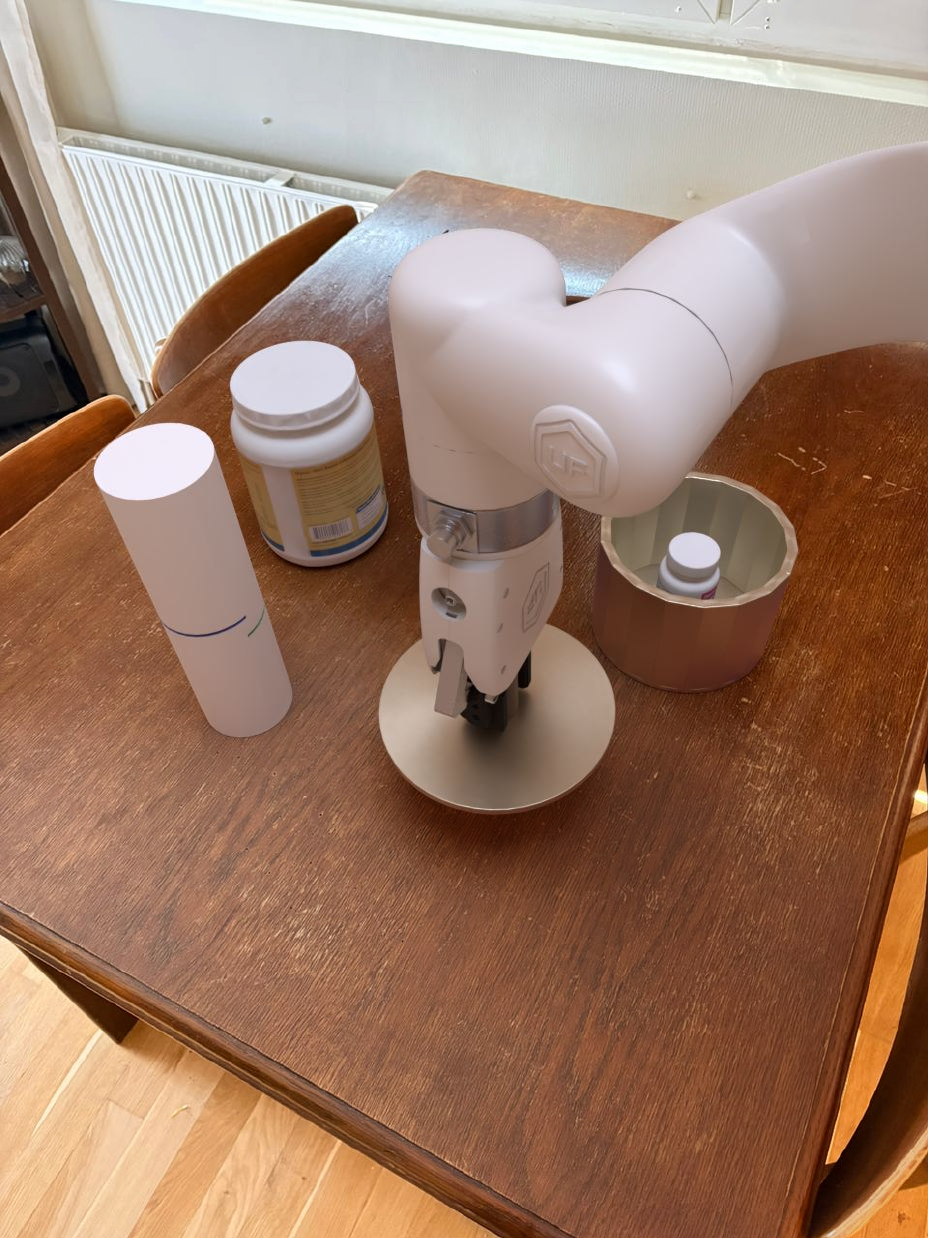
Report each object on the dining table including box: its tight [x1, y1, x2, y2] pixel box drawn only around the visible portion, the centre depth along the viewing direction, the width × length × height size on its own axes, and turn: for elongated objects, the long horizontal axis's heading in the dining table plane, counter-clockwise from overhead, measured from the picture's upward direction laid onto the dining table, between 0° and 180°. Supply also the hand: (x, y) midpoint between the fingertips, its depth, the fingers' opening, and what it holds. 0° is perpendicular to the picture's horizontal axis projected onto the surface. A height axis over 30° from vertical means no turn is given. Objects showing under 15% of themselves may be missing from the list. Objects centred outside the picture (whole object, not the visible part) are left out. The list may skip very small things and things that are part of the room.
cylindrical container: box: [93, 422, 294, 738], centre depth 63 cm, size 7×7×25 cm
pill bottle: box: [656, 532, 721, 600], centre depth 72 cm, size 5×5×8 cm
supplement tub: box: [229, 340, 389, 568], centre depth 79 cm, size 12×12×17 cm
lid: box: [377, 623, 617, 815], centre depth 58 cm, size 16×16×7 cm
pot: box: [591, 470, 799, 694], centre depth 72 cm, size 15×15×10 cm
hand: (495, 698), depth 59 cm, fingers closed on lid, 3 cm apart
